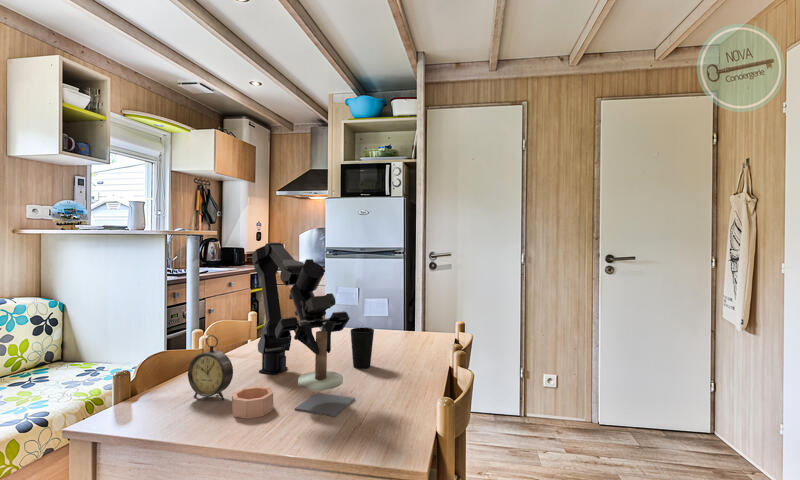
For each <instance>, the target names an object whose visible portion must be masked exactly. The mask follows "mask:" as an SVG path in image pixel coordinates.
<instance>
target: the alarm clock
mask: <svg viewBox="0 0 800 480" xmlns="http://www.w3.org/2000/svg"><path fill="white" fill-rule="evenodd" d="M210 337H213V338H214V339H215V340H216V341H215V342H216V344H215V345H209V342H208V340H209V338H210ZM205 341H206V342H205V343H206V345H207V347H209V351H206V352H201V353H199V354H197V355H196V356H195V357H193V359H191V361H190V363H189V366H188V369H187V380H188V383H189V386H190V387H191V389H192V390H193V392H195V393H194V395H193V398H197V396H198V395H199V396H200V397H204V398H208V397H213V396H215V395H219V397H220V398H221V401H224V400H225V397H224V395H223V391H225V390H226V389H227V388H228V387H229V386H230V384H231V383H232V380H233V376H234V367H233V363H232V361H231V359H230V358H229V357H228V355H226V353H224V352H222V351H219V350H214V348H216V347H217V345H218V343H219V342H218V341H219V340H218V338H217V337H216V336H215V335H213V334H211V335H208V336H206V340H205Z"/></svg>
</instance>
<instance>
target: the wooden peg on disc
mask: <svg viewBox="0 0 800 480" xmlns="http://www.w3.org/2000/svg"><path fill="white" fill-rule="evenodd" d="M315 341H316V344H317V346H318V350H319V354H318V355H316V354H314V355H315V359H314V362H315V365H314V367H315V369H314V371H310V372H306V373H303V374H301V375H300V376H299V377H298V378H297V383H298V384H297V385H298V386H299V387H300V388H303V389H306V390H309V391H310V390H311V391H324V390H325V391H326V390H332V389H335V388H338V387H340V386H341V385H342V384H343V383H344V377H343V375H342V374H341V373H339V372H336V371H329V370H327V369H328V368H327V367H328V366H327V364H328V359H327V358H328V352H327V331H321V330H319V331H316V332H315Z"/></svg>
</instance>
